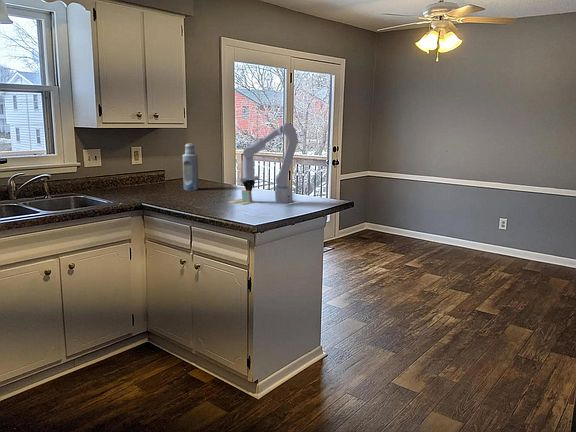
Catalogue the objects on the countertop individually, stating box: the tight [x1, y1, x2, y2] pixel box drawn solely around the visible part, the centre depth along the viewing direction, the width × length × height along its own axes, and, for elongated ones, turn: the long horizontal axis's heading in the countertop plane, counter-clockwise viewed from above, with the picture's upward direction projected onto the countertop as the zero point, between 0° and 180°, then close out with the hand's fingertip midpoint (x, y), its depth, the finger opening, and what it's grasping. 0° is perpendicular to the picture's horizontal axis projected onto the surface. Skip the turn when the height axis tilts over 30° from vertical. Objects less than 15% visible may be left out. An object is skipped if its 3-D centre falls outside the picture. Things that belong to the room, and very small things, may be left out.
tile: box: [241, 189, 253, 202], centre depth 272 cm, size 6×2×6 cm, turn 50°
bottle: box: [182, 143, 199, 191], centre depth 319 cm, size 10×10×30 cm
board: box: [228, 198, 260, 206], centre depth 272 cm, size 14×13×1 cm
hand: (248, 193), depth 273 cm, fingers closed
